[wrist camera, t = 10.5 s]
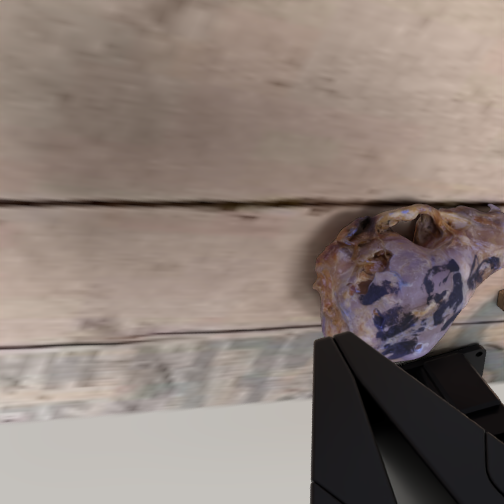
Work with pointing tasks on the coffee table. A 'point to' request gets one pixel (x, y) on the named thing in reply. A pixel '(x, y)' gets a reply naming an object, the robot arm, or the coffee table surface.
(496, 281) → the coffee table surface
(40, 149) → the coffee table surface
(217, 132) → the coffee table surface
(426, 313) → the skull
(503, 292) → the rail notch
